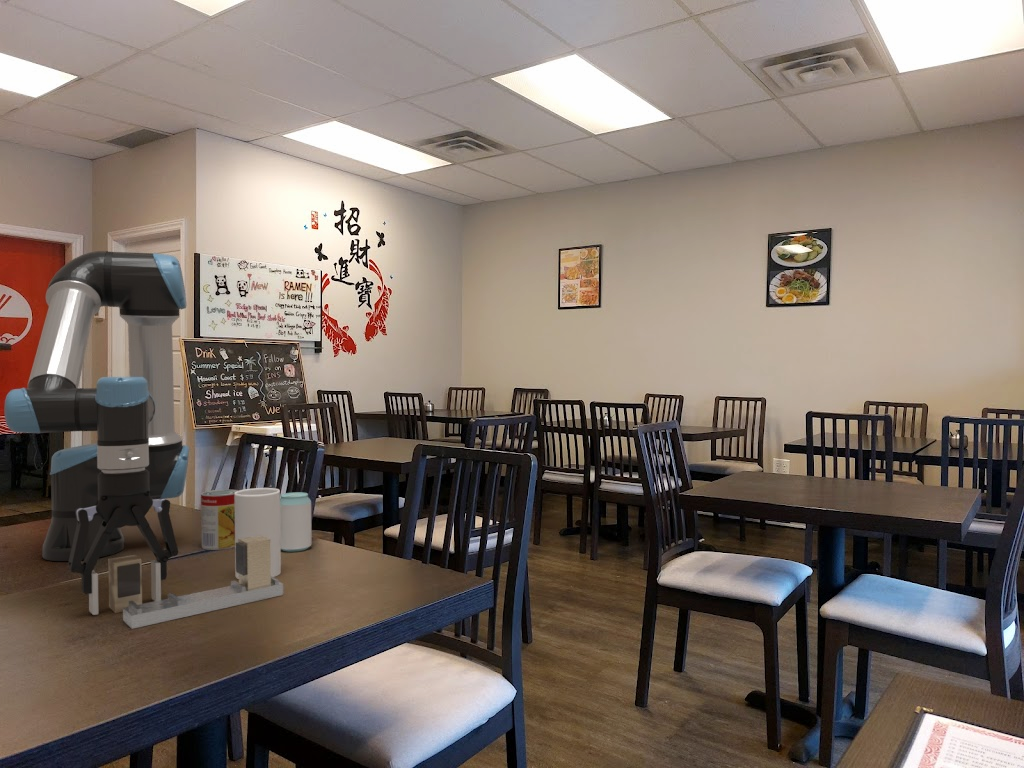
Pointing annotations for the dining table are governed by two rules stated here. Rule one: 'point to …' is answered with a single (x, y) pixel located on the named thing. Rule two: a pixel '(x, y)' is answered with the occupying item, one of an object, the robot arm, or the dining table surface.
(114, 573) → the block
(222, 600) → the rail
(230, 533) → the canned food
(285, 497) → the can
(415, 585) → the dining table surface
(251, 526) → the cup
